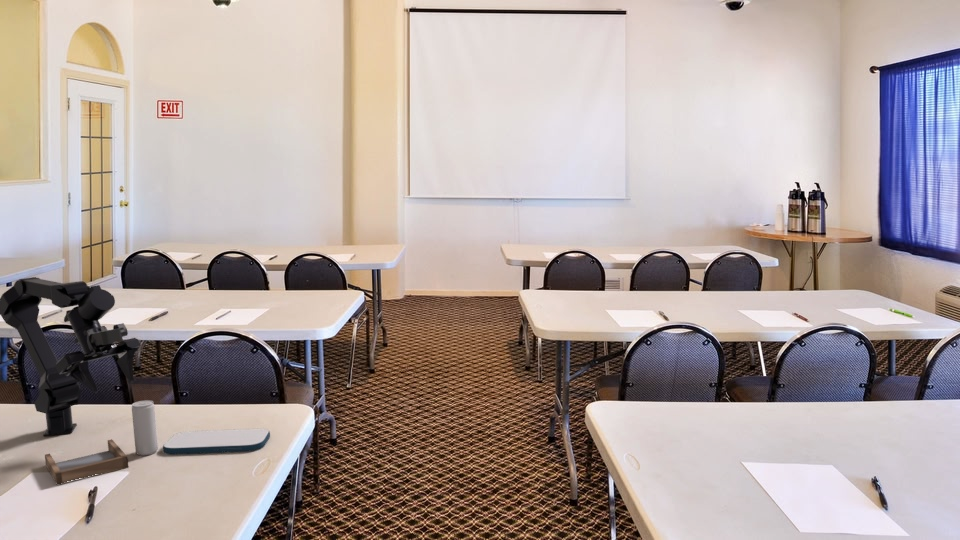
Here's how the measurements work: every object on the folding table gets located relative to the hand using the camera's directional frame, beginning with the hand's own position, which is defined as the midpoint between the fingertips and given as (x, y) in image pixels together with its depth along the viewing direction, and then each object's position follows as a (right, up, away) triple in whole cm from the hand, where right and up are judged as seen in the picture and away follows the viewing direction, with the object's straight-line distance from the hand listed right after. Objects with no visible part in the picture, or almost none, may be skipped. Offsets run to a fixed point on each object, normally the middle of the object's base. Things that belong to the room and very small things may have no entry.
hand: (114, 386), depth 173 cm
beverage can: (+8, -15, -1) cm, 18 cm away
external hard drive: (+24, -15, +3) cm, 28 cm away
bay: (-2, -16, -9) cm, 19 cm away
